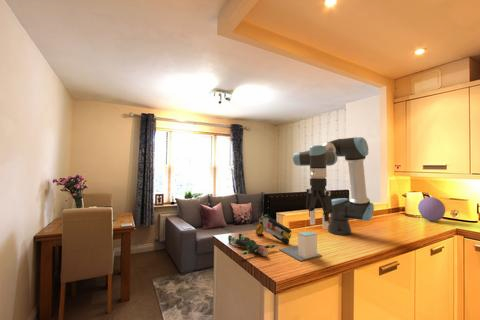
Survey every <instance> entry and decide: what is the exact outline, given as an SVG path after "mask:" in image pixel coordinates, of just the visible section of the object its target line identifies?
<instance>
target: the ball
mask: <svg viewBox="0 0 480 320" xmlns="http://www.w3.org/2000/svg"><path fill="white" fill-rule="evenodd" d="M417 205H418V206H417V209H418V212H419V214H420V216H421V217H422V218H423V219H425V220H427V221H430V222H436V221H440V220H441V219H442V218H444V216H445V213H446V206H445V203H443V202H442V201H441V200H440V199H438V198H436V197H434V196H426V197H424V198H423V199H421V200H420V201H419V203H418V204H417Z"/></svg>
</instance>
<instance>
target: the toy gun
mask: <svg viewBox="0 0 480 320" xmlns="http://www.w3.org/2000/svg"><path fill="white" fill-rule="evenodd" d="M258 222H259V223H258V224H257V225H256V227H255V235H257V237H259V238H260V237H264V233H266V234H269V235H270V236H272V237H273V238H275V239H276V240H278V241H280V242H281V243H282V244H284V245H289V243H290V239H291V237H292V229H290V228H288V227H287V226H285V225H283V224H281V223H280V222H278V221H277V220H275V219H273V218H271V216H270V215H268V214H264V216H263V215H261V217H258Z"/></svg>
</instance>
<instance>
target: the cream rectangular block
mask: <svg viewBox="0 0 480 320" xmlns="http://www.w3.org/2000/svg"><path fill="white" fill-rule="evenodd" d="M297 245H298V255H299V256H301V257H303V258H305V259H306V258H310V257H314V256H317V253H318V233H316V232H313V231H303V232H298V233H297Z"/></svg>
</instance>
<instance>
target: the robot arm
mask: <svg viewBox="0 0 480 320" xmlns="http://www.w3.org/2000/svg"><path fill="white" fill-rule="evenodd" d="M368 155H369V145H368V142H367V140H366V138H365V137H361V136H359V137H357V136H355V137H348V138H346V137H345V138H338V139H333V140H330V141H328V142H324V143H323V144H318V145H311V146H309V150H306V151H299V152H298V151H297V152H295V153H294V154H293V157H292V160H293V161H292V162H293V164H294V165H295V166H298V167H299V166H300V167H303V166H304V167H307V166H309V177H310V178H309V186H311V187H310V188H307V189H306V192H305V193H306V200H305V209H306V210H308V217H309V224H310V226H315V225H316V210H315V208H316V203H317V200H319V202H320V205H321V208H322V212H323V213H322V214H321V218H322V221H321V222H322V224H321V225H322V229H323V230H326V229H327V232H328V233H330V234H334V235H338V236H348V235H351V234H352V228H351V225H350V222H349V219H350V220H356V221H357V220H359V221H362V222H363V221H364V222H369V221H371V220H372V218H373V215H374V211H375V210H374V209H375V205H374V203H372V202H371V199H370V198H369V197H368V196H367V188H366V178H365V177H366V176H365V166H364V161H365V160H366V157H367V156H368ZM341 157H342V158H344V160H345V161H346V162H347V165H348V173H349V182H350V183H349V184H350V185H349V186H350V192H351V193H350V194H351V198H349V199H348V198H347V197H346V198H345V197H343V198H342V197H341V198H339V197H338V198H332V193H333V192H332V191H331V190H330V191H329V190H327V188H326V187H327V183H328V182H327V181H328V180H327V177H328V176H327V167H328V166H334V165H335V164H336V163H337V162H338V158H341Z"/></svg>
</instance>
